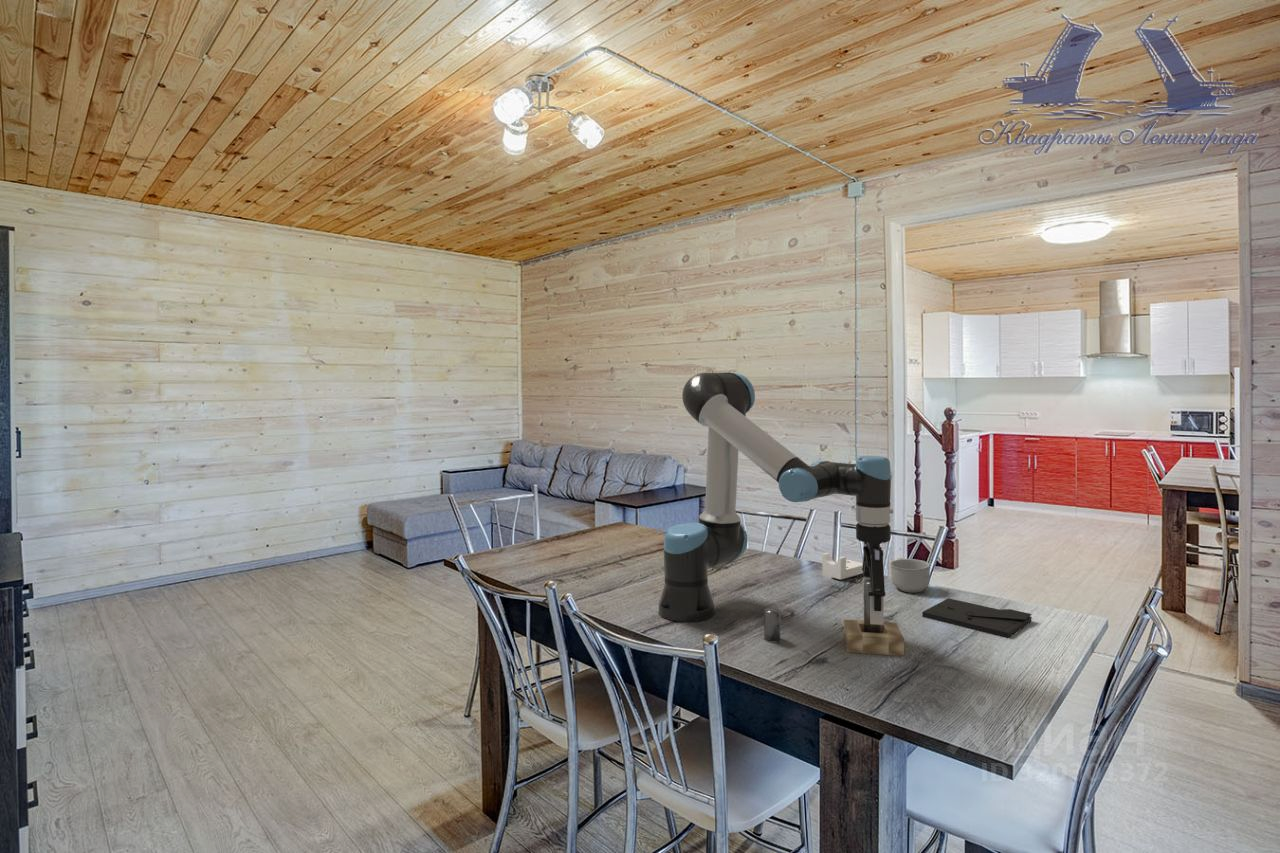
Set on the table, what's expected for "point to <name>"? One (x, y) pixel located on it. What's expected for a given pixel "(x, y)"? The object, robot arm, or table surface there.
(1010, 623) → the picture frame
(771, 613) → the short pin
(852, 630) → the socket block
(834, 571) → the bracket
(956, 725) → the table surface
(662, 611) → the robot arm
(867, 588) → the long pin
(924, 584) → the teacup
